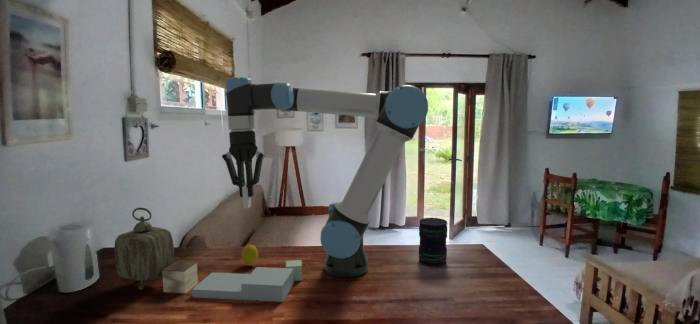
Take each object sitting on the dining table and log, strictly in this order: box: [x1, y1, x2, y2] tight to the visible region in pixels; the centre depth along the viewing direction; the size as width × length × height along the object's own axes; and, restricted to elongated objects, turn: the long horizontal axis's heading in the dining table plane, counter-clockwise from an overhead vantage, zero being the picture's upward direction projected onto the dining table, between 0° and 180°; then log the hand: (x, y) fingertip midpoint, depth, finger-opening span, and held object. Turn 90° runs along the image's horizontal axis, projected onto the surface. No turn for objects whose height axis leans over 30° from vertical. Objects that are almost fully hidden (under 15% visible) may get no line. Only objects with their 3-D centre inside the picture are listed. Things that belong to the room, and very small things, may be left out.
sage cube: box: [285, 259, 303, 282], centre depth 120 cm, size 5×5×5 cm
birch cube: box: [162, 260, 199, 294], centre depth 114 cm, size 7×7×7 cm
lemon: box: [241, 243, 259, 267], centre depth 130 cm, size 6×6×8 cm
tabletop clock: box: [114, 207, 175, 291], centre depth 113 cm, size 14×9×25 cm, turn 74°
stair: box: [191, 266, 295, 303], centre depth 111 cm, size 27×12×5 cm, turn 83°
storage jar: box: [418, 217, 448, 268], centre depth 132 cm, size 10×10×15 cm
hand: (247, 207), depth 114 cm, fingers closed
